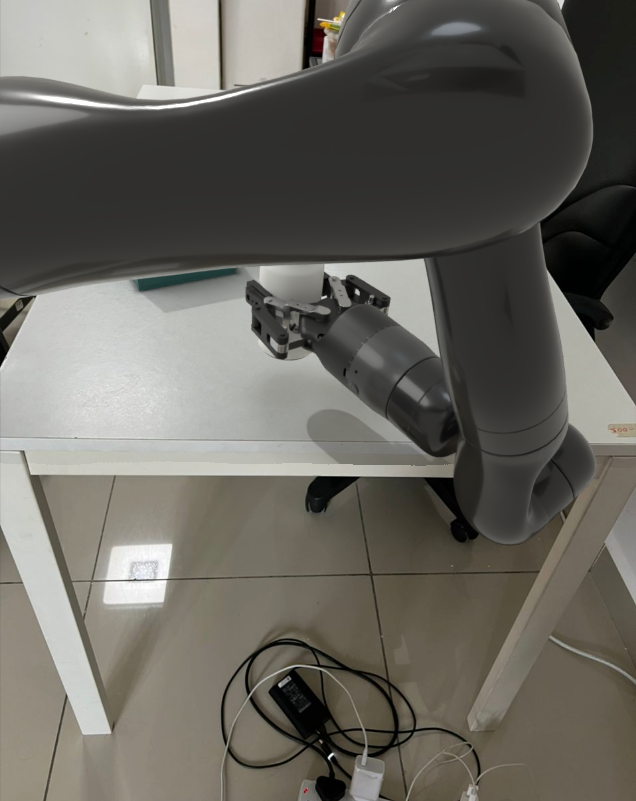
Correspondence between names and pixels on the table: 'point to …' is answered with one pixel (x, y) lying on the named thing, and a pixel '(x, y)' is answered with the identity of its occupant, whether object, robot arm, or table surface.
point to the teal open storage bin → (180, 278)
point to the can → (292, 292)
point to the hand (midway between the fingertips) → (277, 279)
